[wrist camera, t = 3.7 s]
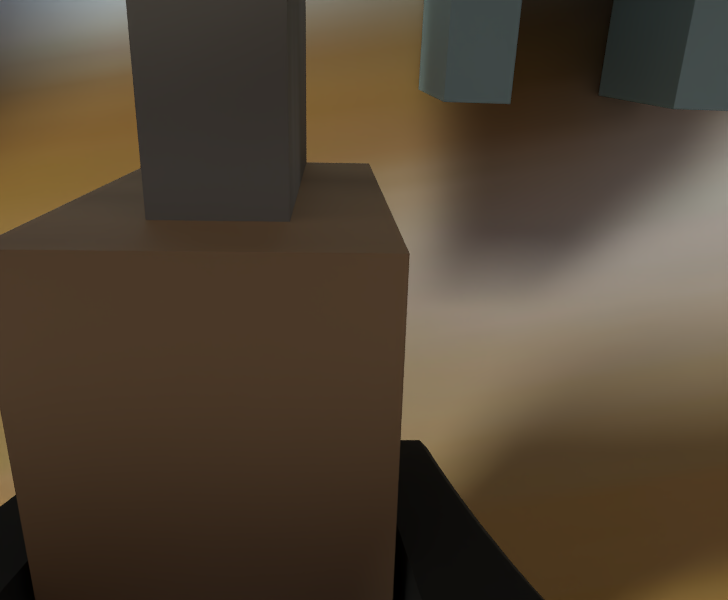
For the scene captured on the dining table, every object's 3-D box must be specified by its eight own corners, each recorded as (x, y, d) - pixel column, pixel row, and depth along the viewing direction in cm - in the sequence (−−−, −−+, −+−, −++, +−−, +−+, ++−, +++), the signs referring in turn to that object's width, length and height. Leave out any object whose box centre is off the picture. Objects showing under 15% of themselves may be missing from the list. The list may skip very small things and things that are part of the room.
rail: (357, 600, 12) (375, 947, 7) (193, 604, 12) (101, 960, 7) (376, -118, 8) (441, -392, 3) (134, -128, 8) (-153, -429, 3)
